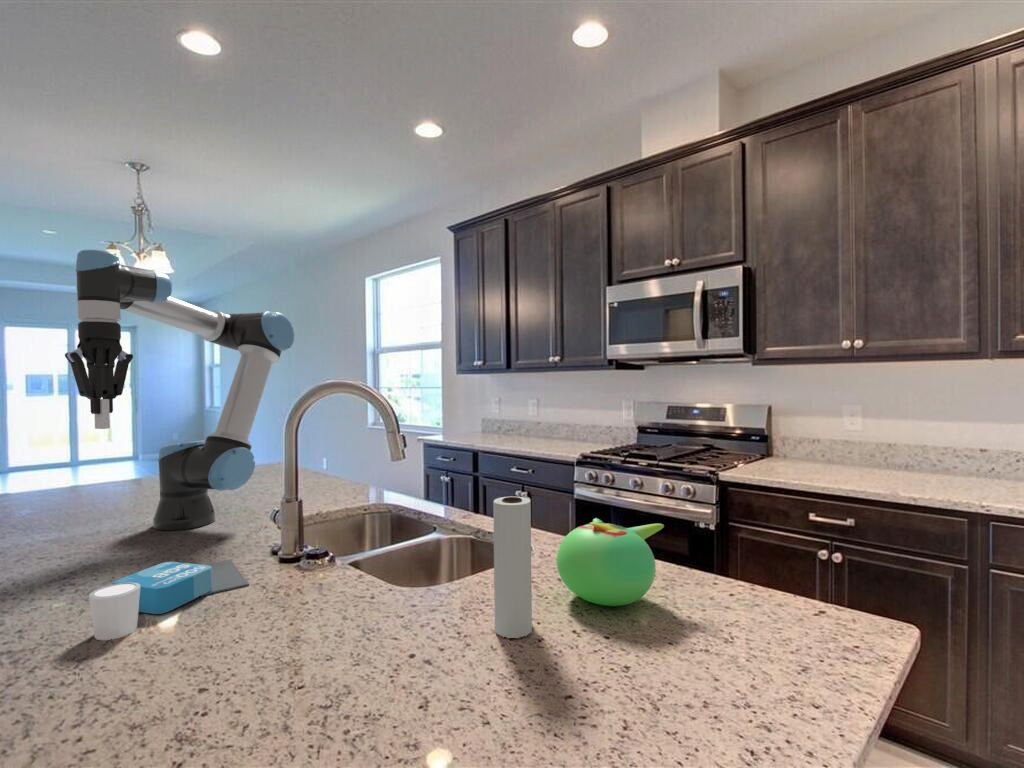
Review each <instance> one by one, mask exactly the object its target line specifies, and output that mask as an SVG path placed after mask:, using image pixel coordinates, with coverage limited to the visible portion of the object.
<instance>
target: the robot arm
mask: <svg viewBox="0 0 1024 768" xmlns="http://www.w3.org/2000/svg"><path fill="white" fill-rule="evenodd" d="M75 266H76V268H75V272H76V292H77V294H76V295H77V296H76V297H77V319H78V320H80V321H79V322H78V323H77V331H78V332H77V335H78V340H79V342H78V343H77V347H76V348H75V349H74V350H72V351H71V352H66V353H64V357H65V358H66V360H67V361H68V362H69V364H70V366H71V370H72V374H73V376H74V380H75V383H76V387H77V390H78V393H79V396H81V397H84V398H86V399H88V400H89V401H90V402H89V403H90V413H91V414H92V415H94V429H95V430H96V429H97V430H107V429H110V428H111V423H110V422H111V421H110V420H111V419H110V414H112V413H113V411H114V403H113V400H114V399H116V398H117V397H118V396H122V395H123V391H124V387H125V383H126V379H127V374H128V371H129V365H130V363H131V361H132V360H133V359H134V355H133V354H132V353H127V352H126V351H124V350H123V347H122V345H121V338H122V331H121V329H122V327H121V324H120V323H119V322H120V321H121V319H122V317H121V316H122V315H121V310H122V311H126V312H129V313H131V314H135V315H137V316H140V317H143V318H144V317H145V318H147V319H150V320H154V321H156V322H159V323H163V324H165V325H168V326H170V327H171V326H172V327H175V328H178V329H180V330H184V331H187V332H188V333H189V332H190V333H192V334H195V335H199V336H200V337H201V339H203V341H206V342H209V343H212V344H215V345H218V346H221V347H224V348H228V349H232V350H235V351H238V352H239V354H240V359H239V362H238V365H237V367H236V370H235V374H234V377H233V379H232V382H231V385H230V388H229V391H228V394H227V396H226V399H225V402H224V405H223V408H222V410H221V414H220V417H219V420H218V422H217V425H216V429H215V431H214V432H213V433H210V434H209V435H207V436H206V439H205V440H202V439H201V440H195V441H188V442H180V443H173V444H166V445H163V446H161V447H160V449H159V451H158V459H157V461H158V474H159V476H158V479H159V500H158V501H159V502H158V503H157V507H156V510H155V513H154V517H153V518H152V519H153V520H152V529H154V530H158V531H180V530H188V529H189V530H190V529H193V528H198V527H203V526H206V525H209V524H211V523H213V522H214V521H216V511H215V509H214V507H213V503H212V501H211V499H210V496H209V493H208V491H209V490H216V491H221V492H222V491H233V490H234V491H235V490H238V489H240V488H241V487H243V486H245V484H247V483H248V481H250V479H251V478H252V476H253V474H254V471H255V467H256V460H255V456H254V454H253V452H252V451H251V450H252V444H251V442H250V441H249V437H250V433H251V431H252V427H253V424H254V421H255V417H256V414H257V412H258V408H259V405H260V403H261V399H262V397H263V393H264V389H265V387H266V383H267V380H268V377H269V374H270V371H271V368H272V365H273V364H275V363H277V362H279V360H280V357H281V354H282V351H283V352H284V351H288V349H291V347H292V346H293V344H294V341H295V331H294V327H293V326H292V323H291V321H290V319H289V318H288V317H287V316H286V315H285V314H283V313H281V312H277V311H268V310H267V311H263V312H248V313H247V312H246V313H227V312H222V311H219V310H216V309H213V310H207V309H205V308H202V307H199V306H196V305H194V304H191V303H188V302H186V301H184V300H181V299H179V298H175V297H173V296H171V295H172V292H173V283H172V281H171V278H170V276H168V275H167V274H166V273H165V272H160V271H156V270H155V269H147V268H146V269H145V268H140V267H134V266H129V265H125V264H121V261H120V258H119V255H118V254H117V253H114V252H113V251H108V250H101V249H82V250H80V251H79V252H77V255H76V265H75ZM83 358H84V360H85V361H86V366H85V362H84V360H83ZM116 359H117V362H116V364H115V360H116ZM86 368H87V369H86ZM114 368H115V369H114Z"/></svg>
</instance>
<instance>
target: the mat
mask: <svg viewBox="0 0 1024 768" xmlns="http://www.w3.org/2000/svg"><path fill="white" fill-rule="evenodd" d="M205 565H208V566H211V567H212V590H211V591H210V592H208V593H205V594H203V595H201V597H205V596H209V595H208V594H210V595H213V594H212V593H214V594H218V593H221V592H220V591H223V592H226V591H225V590H227V591H230V590H231V589H232V590H235V589H240V588H241V589H242V588H244V587H249V586H250V583H249V582H248V580H247V579H246V577H245V576H244V575H243V574H242V572H241V571H240V569H239V568H238V567H237V566H236V565H235V564H234V562H233V561H232V560H231V559H226V560H222V561H217V562H212V563H207V564H205ZM217 592H218V593H217ZM204 595H205V596H204Z"/></svg>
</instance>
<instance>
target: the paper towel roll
mask: <svg viewBox="0 0 1024 768" xmlns="http://www.w3.org/2000/svg"><path fill="white" fill-rule="evenodd" d="M531 503H532V502H531V498H530V497H528V496H527V494H526V493H525V494H524V496H502V497H497V498H495V499H493V503H492V504H493V506H492V507H493V514H492V515H493V574H494V575H493V576H494V577H493V583H494V584H493V585H494V589H493V590H494V591H493V592H494V597H493V598H494V631H495V634H496V635H498V634H499V635H501V636H503V637H502V638H504V637H507V638H506V639H509V638H516V637H517V639H519V638H518V637H523V636H525V637H527V636H526V635H528V634H529V633H530V634H531V633H532V631H533V630H532V629H533V617H532V616H533V609H532V608H533V601H532V598H533V596H532V523H531V522H532V521H531V520H532V518H531V517H532V513H531V511H532V509H531V507H532V506H531ZM530 634H529V635H530ZM499 635H498V636H499ZM529 635H528V636H529ZM501 636H500V637H501ZM523 638H524V637H523Z"/></svg>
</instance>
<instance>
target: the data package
mask: <svg viewBox="0 0 1024 768" xmlns="http://www.w3.org/2000/svg"><path fill="white" fill-rule="evenodd" d="M129 582H132V583H138V584H140V597H139V609H138V613H146V614H151V615H152V614H153V615H161V614H165V613H168V612H170V611H172V610H175V609H177V608H179V607H181V606H182V605H185V604H187V603H189V602H191V601H193V600H195V599H197V598H200V597H199V596H201V595H203V594H205V593H208V592H210V591H211V590H212V567H211V566H208V565H206V564H198V563H187V562H178V561H164V562H161V563H159V564H156V565H153V566H150V567H148V568H145V569H142V570H139V571H137V572H135V573H132V574H130V575H127V576H124V577H122V578H118V579H117V580H114V581H113V582H112V585H113V584H119V583H129ZM201 597H202V596H201Z"/></svg>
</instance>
